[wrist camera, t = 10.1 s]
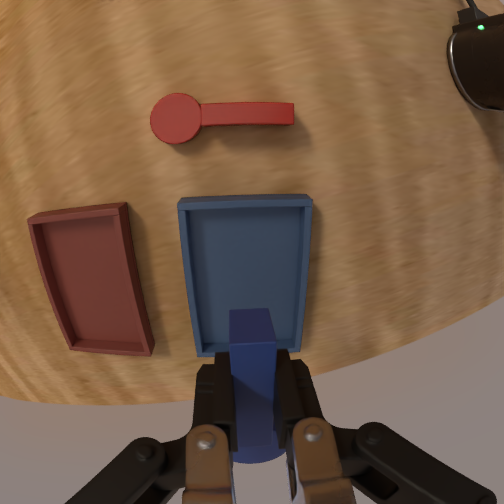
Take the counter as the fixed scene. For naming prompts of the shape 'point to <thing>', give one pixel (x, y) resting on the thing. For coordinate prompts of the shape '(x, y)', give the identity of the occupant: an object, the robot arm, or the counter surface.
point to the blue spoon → (254, 384)
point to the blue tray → (245, 263)
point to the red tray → (93, 278)
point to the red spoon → (211, 116)
